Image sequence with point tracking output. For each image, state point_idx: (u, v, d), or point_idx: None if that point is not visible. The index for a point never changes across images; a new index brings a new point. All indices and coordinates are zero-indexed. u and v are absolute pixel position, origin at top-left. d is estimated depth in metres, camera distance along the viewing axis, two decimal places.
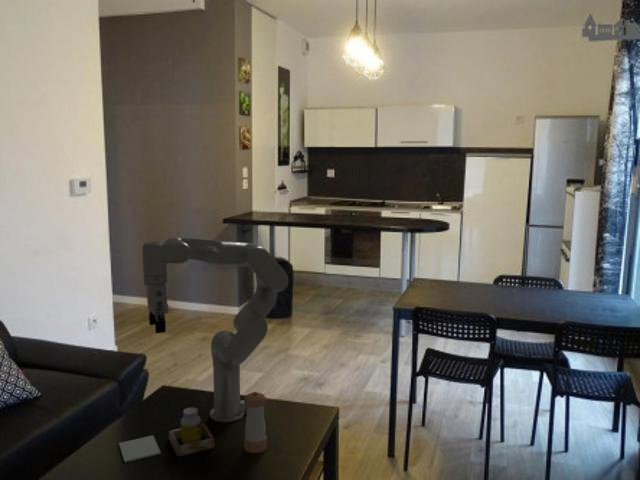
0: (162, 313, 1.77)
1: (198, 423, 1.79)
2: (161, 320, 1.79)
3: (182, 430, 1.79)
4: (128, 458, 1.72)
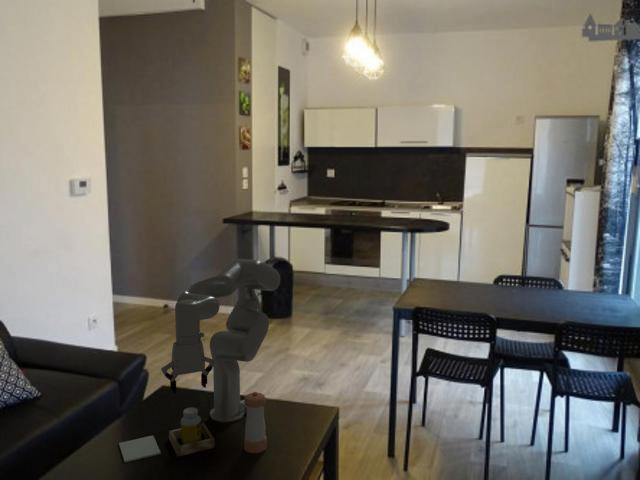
0: None
1: (198, 423, 1.79)
2: None
3: (182, 430, 1.79)
4: (128, 458, 1.72)
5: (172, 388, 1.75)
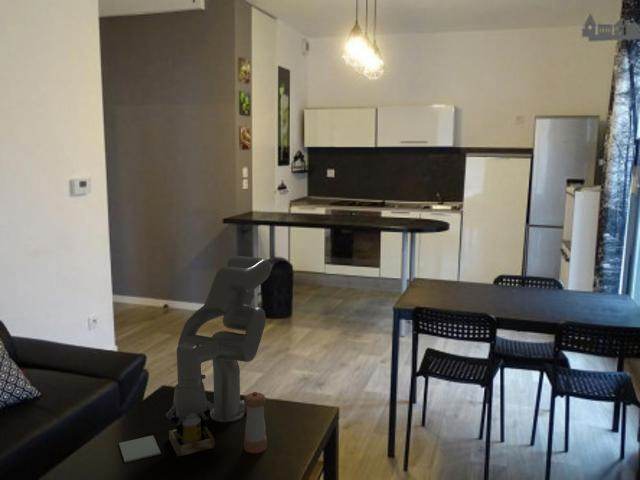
0: None
1: (198, 423, 1.79)
2: None
3: (182, 430, 1.79)
4: (128, 458, 1.72)
5: (178, 431, 1.78)
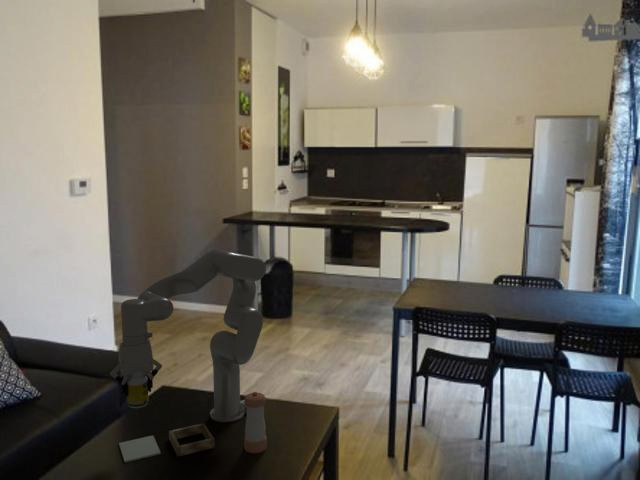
0: None
1: (144, 383, 1.73)
2: None
3: None
4: (128, 458, 1.72)
5: (123, 391, 1.72)
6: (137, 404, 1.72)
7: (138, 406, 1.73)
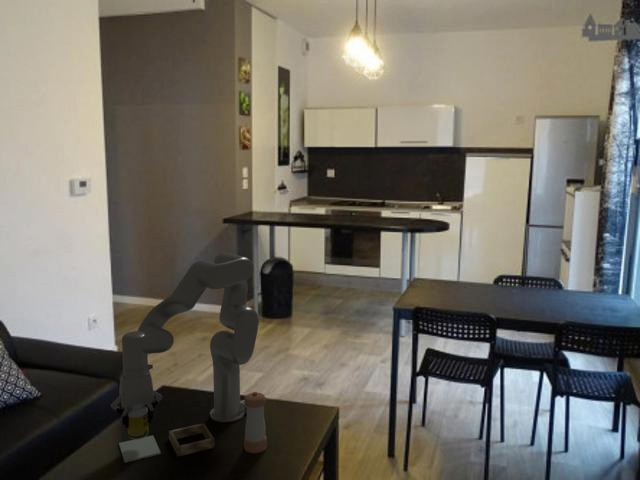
0: None
1: (144, 414, 1.75)
2: None
3: (128, 421, 1.74)
4: (128, 458, 1.72)
5: (124, 423, 1.74)
6: (138, 436, 1.74)
7: (139, 438, 1.74)
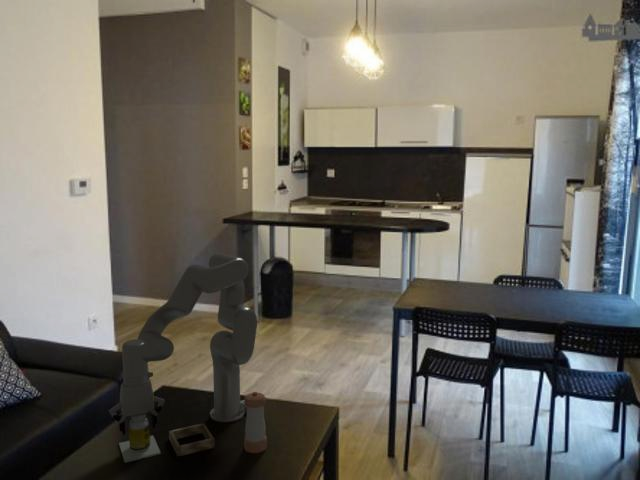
0: None
1: (146, 427, 1.75)
2: None
3: (129, 434, 1.75)
4: (128, 458, 1.72)
5: (121, 429, 1.74)
6: (139, 448, 1.75)
7: (140, 450, 1.75)
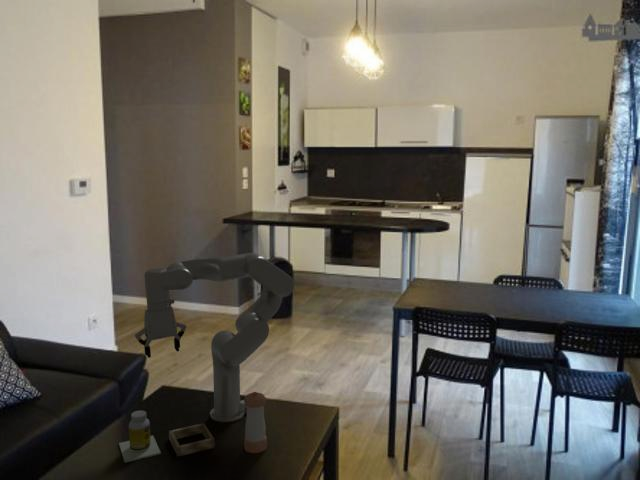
0: None
1: (146, 427, 1.75)
2: None
3: (130, 434, 1.75)
4: (128, 458, 1.72)
5: (146, 353, 1.85)
6: (139, 448, 1.75)
7: (140, 450, 1.75)
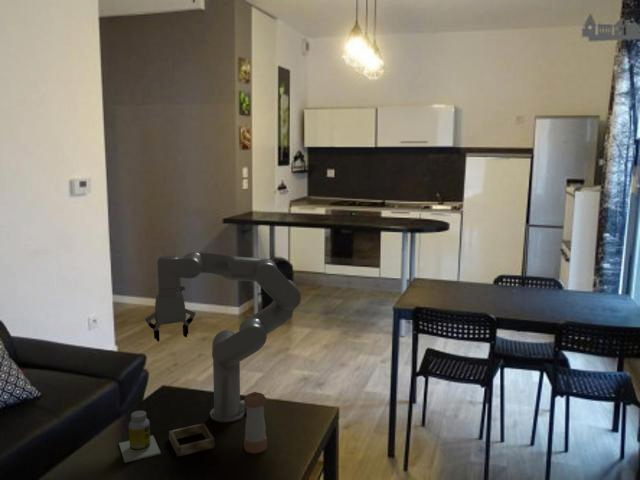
0: None
1: (146, 427, 1.75)
2: None
3: (129, 434, 1.75)
4: (128, 458, 1.72)
5: (155, 337, 1.91)
6: (139, 448, 1.75)
7: (140, 450, 1.75)
